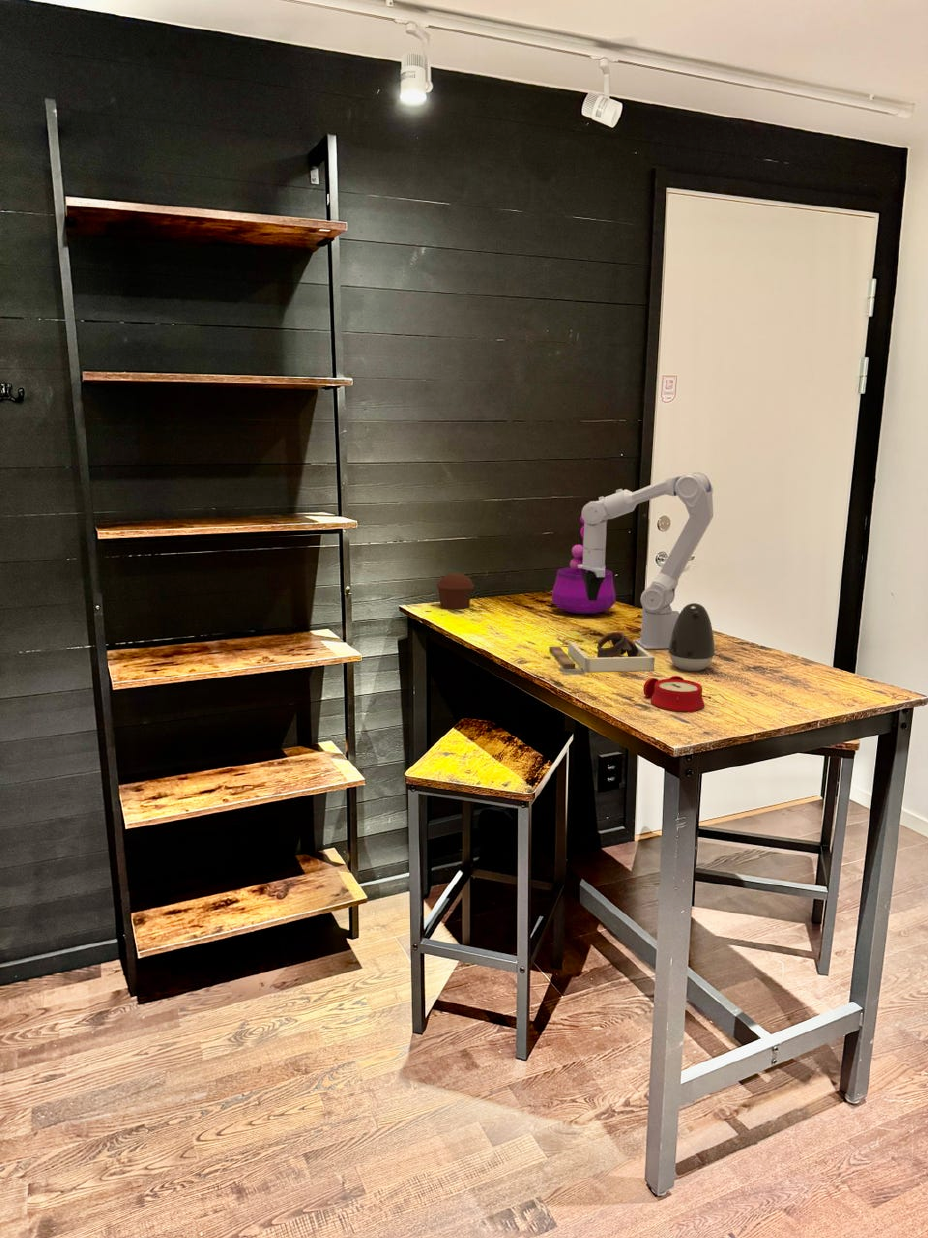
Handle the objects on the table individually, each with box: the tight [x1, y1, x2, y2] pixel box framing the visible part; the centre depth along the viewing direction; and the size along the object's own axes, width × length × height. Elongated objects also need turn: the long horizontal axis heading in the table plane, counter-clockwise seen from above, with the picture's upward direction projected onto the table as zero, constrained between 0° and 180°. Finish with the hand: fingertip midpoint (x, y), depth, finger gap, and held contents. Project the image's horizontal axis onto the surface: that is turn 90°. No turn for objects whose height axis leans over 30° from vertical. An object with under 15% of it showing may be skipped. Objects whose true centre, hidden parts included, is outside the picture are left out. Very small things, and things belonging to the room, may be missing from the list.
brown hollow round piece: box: [596, 631, 639, 658], centre depth 201 cm, size 12×10×8 cm
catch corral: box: [567, 641, 656, 673], centre depth 200 cm, size 16×16×3 cm
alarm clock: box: [643, 675, 712, 714], centre depth 171 cm, size 10×6×15 cm
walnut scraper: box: [548, 646, 586, 676], centre depth 199 cm, size 20×5×2 cm, turn 7°
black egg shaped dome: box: [668, 602, 716, 672], centre depth 194 cm, size 10×10×15 cm
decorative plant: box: [551, 514, 616, 615], centre depth 250 cm, size 19×18×30 cm
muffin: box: [436, 572, 475, 611], centre depth 258 cm, size 12×11×10 cm
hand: (592, 600), depth 221 cm, fingers closed
